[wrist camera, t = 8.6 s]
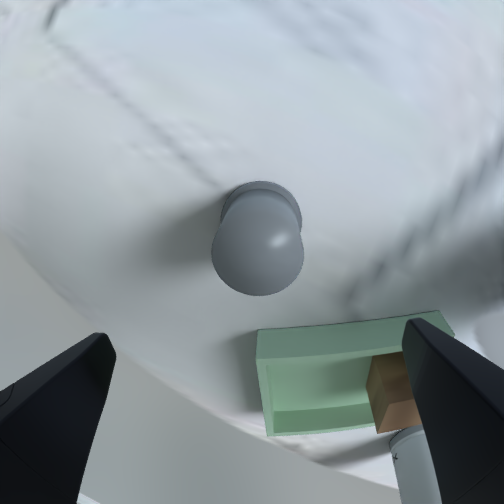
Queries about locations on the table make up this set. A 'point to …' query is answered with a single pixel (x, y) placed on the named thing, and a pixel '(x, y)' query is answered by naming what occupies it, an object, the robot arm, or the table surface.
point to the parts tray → (325, 372)
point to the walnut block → (391, 393)
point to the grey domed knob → (259, 239)
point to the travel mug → (414, 467)
